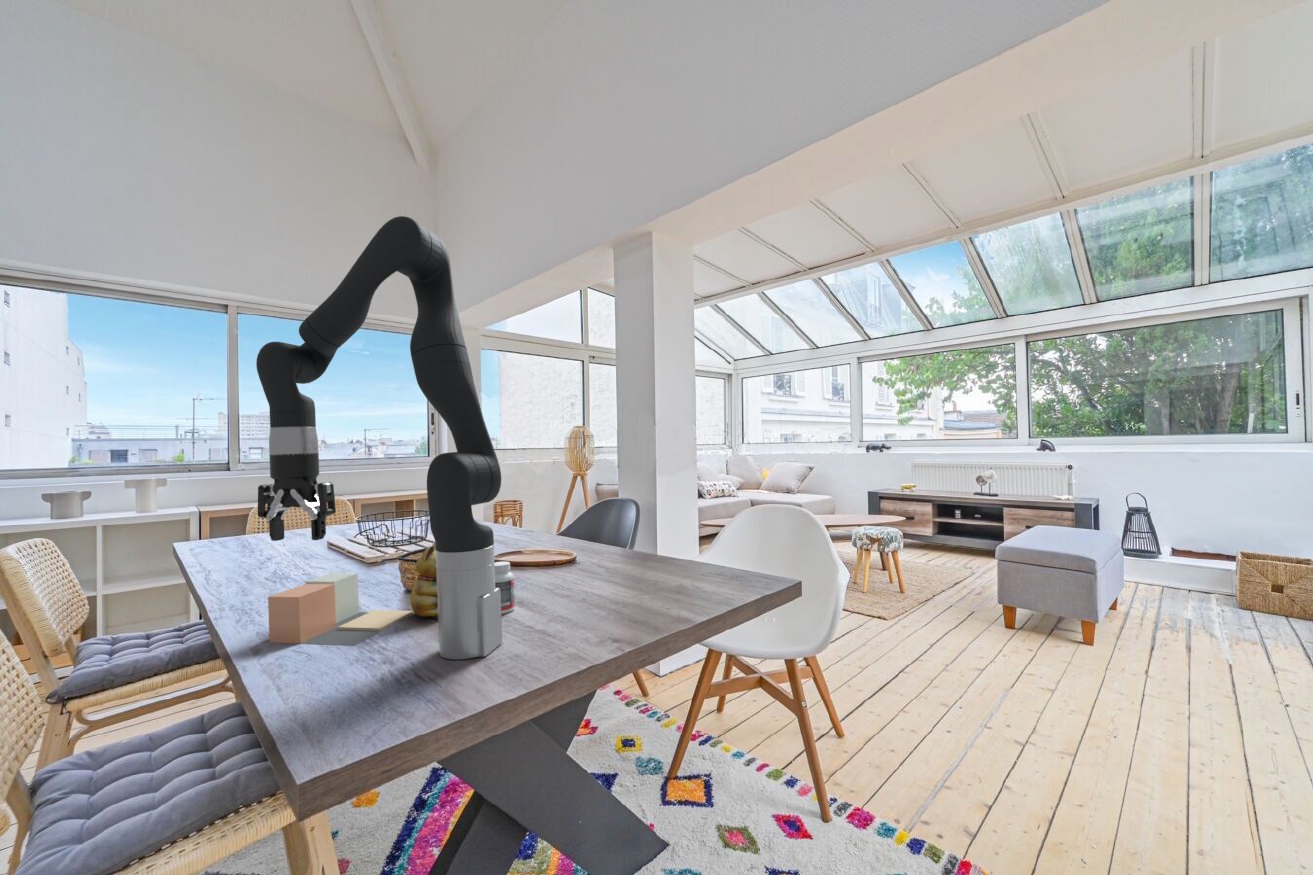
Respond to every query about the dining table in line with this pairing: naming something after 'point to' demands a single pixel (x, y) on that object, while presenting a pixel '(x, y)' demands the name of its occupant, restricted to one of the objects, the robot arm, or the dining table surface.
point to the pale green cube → (342, 593)
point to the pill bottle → (505, 586)
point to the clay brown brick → (301, 613)
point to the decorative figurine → (426, 585)
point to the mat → (358, 628)
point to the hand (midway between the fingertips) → (297, 539)
